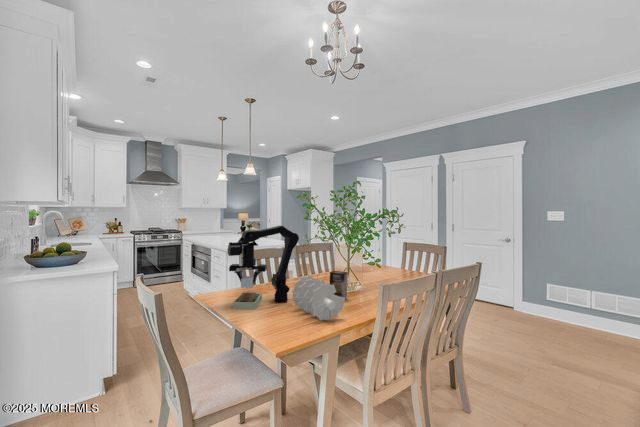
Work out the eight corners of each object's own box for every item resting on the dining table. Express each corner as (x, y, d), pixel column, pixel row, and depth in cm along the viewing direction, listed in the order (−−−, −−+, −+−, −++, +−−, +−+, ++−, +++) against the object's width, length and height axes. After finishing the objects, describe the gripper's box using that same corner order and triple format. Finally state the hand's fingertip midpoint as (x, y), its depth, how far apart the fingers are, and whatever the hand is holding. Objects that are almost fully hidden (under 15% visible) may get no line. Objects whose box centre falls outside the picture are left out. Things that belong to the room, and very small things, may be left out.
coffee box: (328, 300, 173) (329, 272, 173) (332, 297, 179) (333, 270, 179) (343, 302, 170) (344, 273, 170) (347, 299, 176) (347, 271, 176)
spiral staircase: (323, 332, 138) (295, 313, 158) (350, 310, 146) (321, 294, 167) (310, 300, 132) (283, 284, 153) (339, 278, 141) (310, 266, 161)
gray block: (254, 284, 161) (255, 276, 161) (252, 287, 155) (252, 279, 155) (243, 284, 161) (243, 276, 161) (240, 287, 155) (240, 278, 155)
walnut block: (255, 303, 163) (255, 292, 162) (252, 308, 156) (252, 296, 155) (242, 303, 163) (243, 292, 162) (239, 307, 156) (239, 296, 155)
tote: (262, 300, 171) (262, 293, 170) (255, 310, 154) (255, 302, 153) (241, 300, 171) (241, 292, 171) (232, 310, 154) (232, 302, 154)
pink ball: (255, 299, 169) (255, 291, 169) (254, 302, 164) (255, 293, 164) (247, 299, 168) (247, 291, 168) (246, 302, 164) (246, 293, 164)
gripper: (268, 252, 166) (268, 280, 167) (235, 251, 166) (234, 280, 167) (265, 255, 155) (264, 285, 156) (228, 255, 155) (228, 285, 156)
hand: (248, 284), depth 159 cm, fingers closed on gray block, 6 cm apart
